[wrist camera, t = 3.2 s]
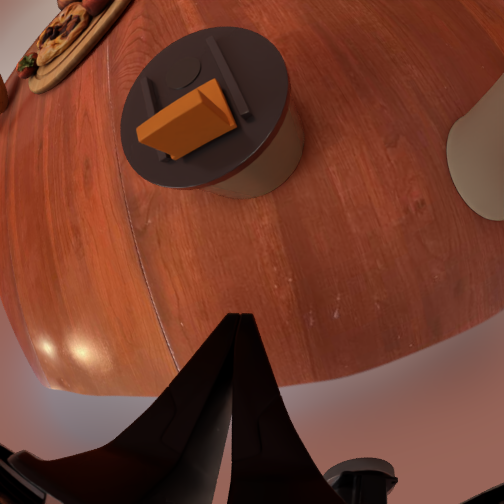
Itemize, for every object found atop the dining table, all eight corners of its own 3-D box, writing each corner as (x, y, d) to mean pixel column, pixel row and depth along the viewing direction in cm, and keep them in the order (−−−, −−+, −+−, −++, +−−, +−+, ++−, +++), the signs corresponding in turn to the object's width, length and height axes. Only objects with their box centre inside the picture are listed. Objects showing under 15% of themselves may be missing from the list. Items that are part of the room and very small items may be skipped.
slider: (237, 127, 12) (206, 99, 9) (175, 160, 13) (134, 145, 10) (217, 81, 12) (187, 49, 9) (162, 114, 13) (125, 93, 10)
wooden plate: (27, 126, 34) (-5, 119, 26) (47, 35, 35) (26, 26, 27) (146, 16, 24) (111, -13, 16) (145, -45, 25) (125, -63, 17)
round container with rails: (331, 173, 19) (324, 126, 10) (208, 224, 23) (132, 220, 14) (278, 69, 20) (242, -1, 11) (175, 121, 23) (107, 83, 14)
